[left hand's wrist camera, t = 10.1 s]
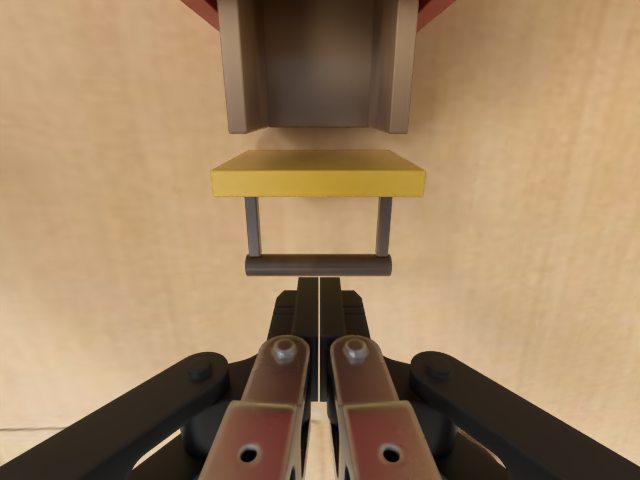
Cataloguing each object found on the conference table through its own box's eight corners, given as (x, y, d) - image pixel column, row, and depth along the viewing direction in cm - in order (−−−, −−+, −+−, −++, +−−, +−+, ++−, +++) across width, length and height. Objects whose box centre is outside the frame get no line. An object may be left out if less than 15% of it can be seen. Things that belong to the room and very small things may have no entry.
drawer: (383, 238, 24) (412, 296, 17) (254, 238, 24) (223, 296, 17) (412, -166, 17) (489, -397, 9) (224, -166, 17) (145, -396, 9)
